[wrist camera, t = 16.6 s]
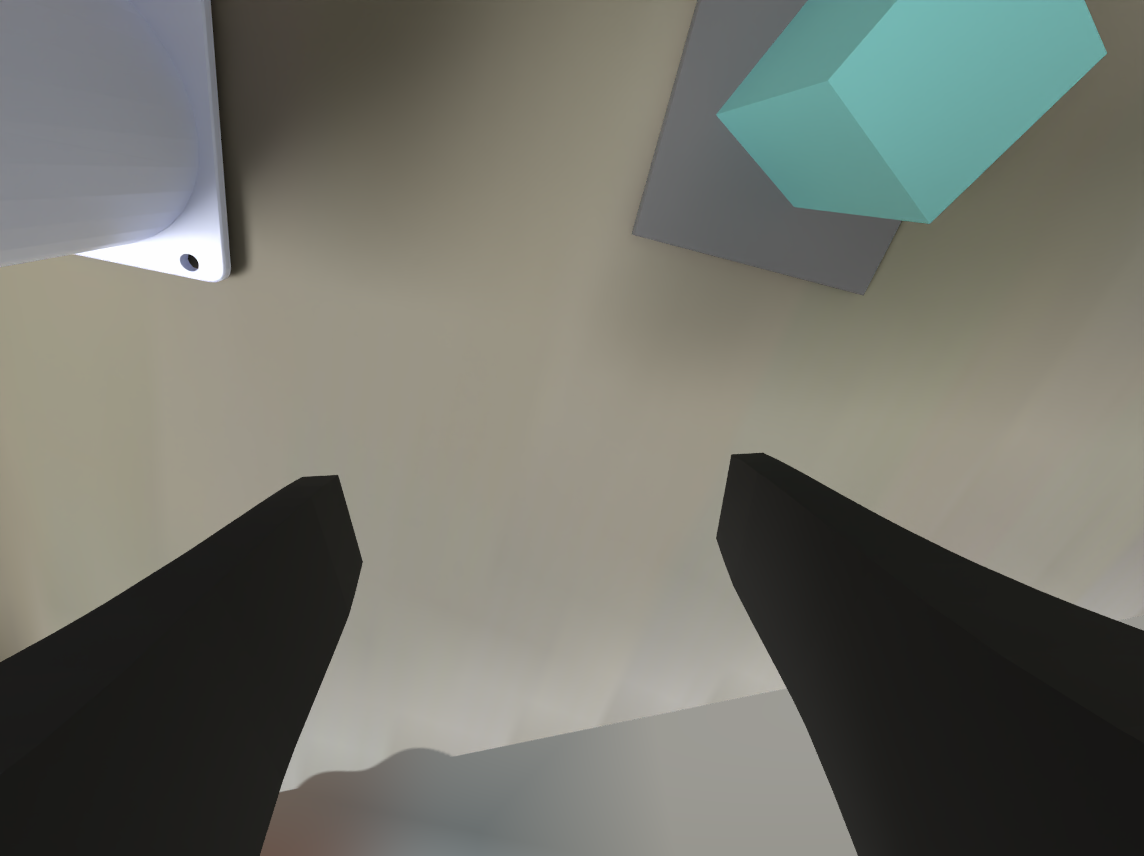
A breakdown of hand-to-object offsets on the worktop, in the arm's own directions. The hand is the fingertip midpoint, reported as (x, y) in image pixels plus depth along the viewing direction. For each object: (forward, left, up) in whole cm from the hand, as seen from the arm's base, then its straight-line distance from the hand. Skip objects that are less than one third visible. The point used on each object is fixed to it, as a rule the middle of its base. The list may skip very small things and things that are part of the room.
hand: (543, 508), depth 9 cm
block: (+7, +9, -10) cm, 15 cm away
